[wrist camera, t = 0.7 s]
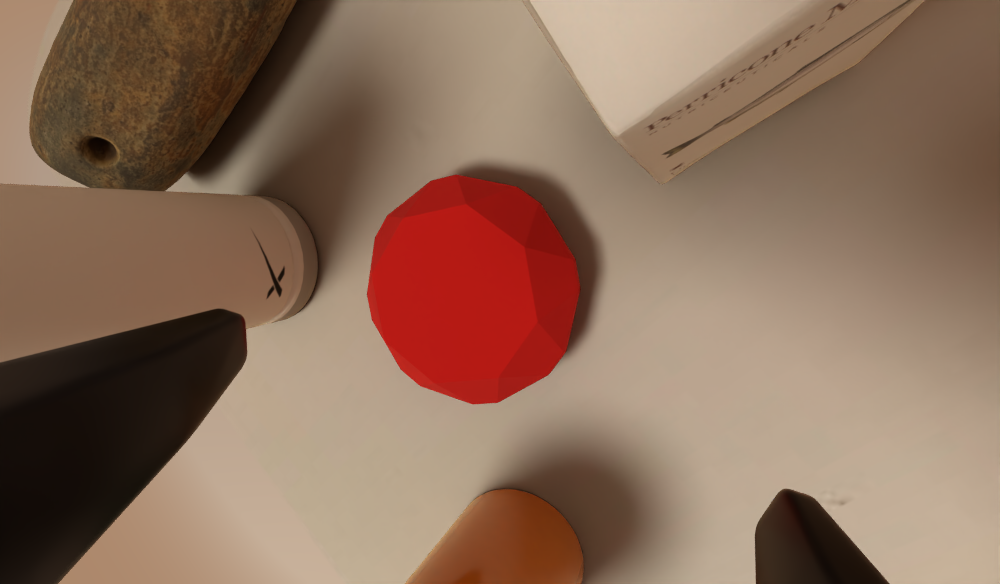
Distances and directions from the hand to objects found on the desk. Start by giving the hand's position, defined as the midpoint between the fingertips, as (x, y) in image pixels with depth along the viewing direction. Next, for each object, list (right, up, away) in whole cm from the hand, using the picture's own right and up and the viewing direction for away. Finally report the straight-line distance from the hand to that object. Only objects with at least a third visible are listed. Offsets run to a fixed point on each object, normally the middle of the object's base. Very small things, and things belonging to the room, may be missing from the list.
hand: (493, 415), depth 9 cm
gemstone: (-1, +2, +14) cm, 15 cm away
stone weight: (-13, +13, +17) cm, 25 cm away
